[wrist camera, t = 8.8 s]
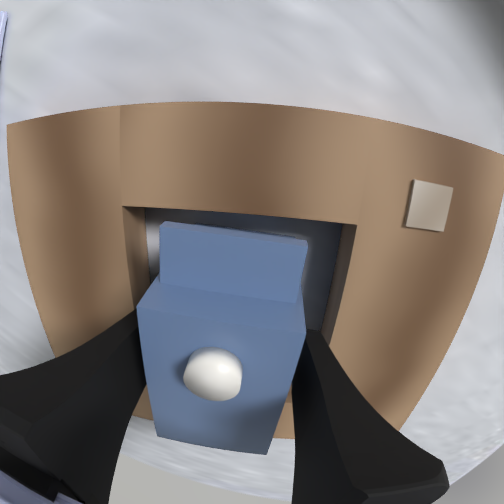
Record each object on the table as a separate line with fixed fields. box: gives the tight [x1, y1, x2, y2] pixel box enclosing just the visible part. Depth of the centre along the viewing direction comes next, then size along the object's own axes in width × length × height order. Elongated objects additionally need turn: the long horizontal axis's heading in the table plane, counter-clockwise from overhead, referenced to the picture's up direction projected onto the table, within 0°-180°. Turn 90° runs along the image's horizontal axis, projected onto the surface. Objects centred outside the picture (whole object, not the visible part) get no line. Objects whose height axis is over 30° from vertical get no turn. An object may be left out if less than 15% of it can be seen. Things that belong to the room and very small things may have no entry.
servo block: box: [136, 221, 308, 455], centre depth 11 cm, size 4×9×7 cm, turn 173°
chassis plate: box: [7, 102, 504, 439], centre depth 13 cm, size 20×16×2 cm
